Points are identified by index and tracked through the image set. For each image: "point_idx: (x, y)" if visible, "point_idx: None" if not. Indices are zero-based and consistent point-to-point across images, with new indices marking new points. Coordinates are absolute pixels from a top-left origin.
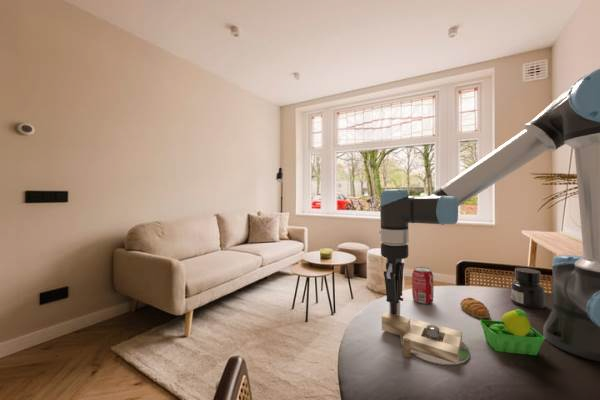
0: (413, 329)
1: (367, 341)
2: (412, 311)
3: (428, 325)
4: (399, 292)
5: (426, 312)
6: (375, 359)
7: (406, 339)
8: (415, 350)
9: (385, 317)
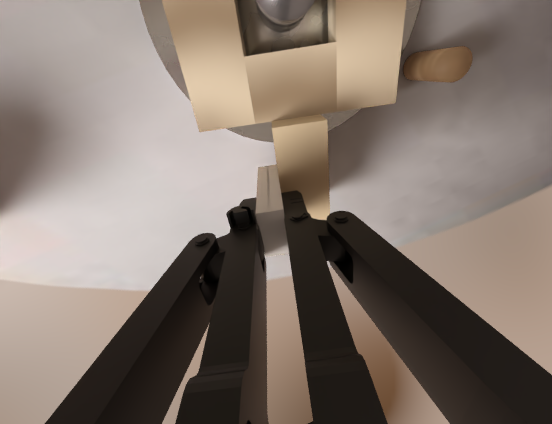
0: (295, 95)
1: (389, 203)
2: (78, 185)
3: (271, 14)
4: (254, 251)
5: (25, 138)
6: (476, 142)
7: (451, 69)
8: None
9: (329, 213)
